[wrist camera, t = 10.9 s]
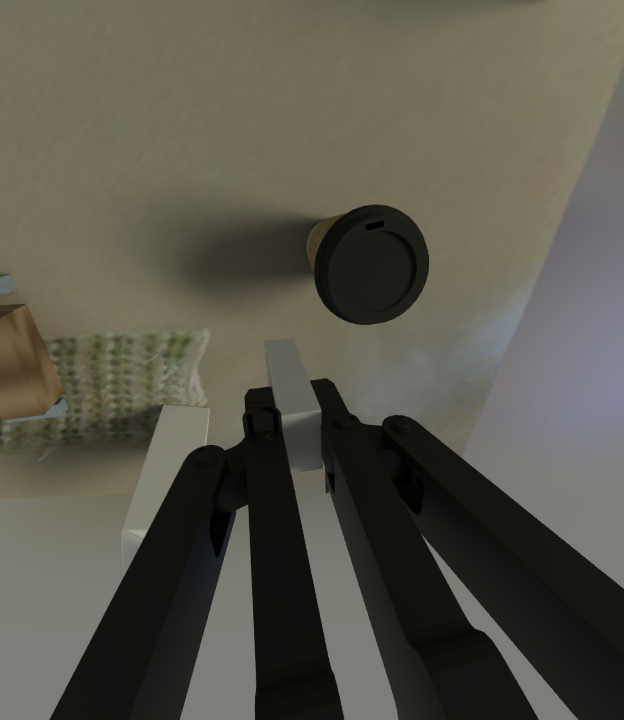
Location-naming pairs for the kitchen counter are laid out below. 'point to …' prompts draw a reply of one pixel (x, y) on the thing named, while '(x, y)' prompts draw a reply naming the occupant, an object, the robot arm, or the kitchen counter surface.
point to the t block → (24, 367)
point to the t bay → (5, 286)
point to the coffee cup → (368, 263)
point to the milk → (161, 471)
